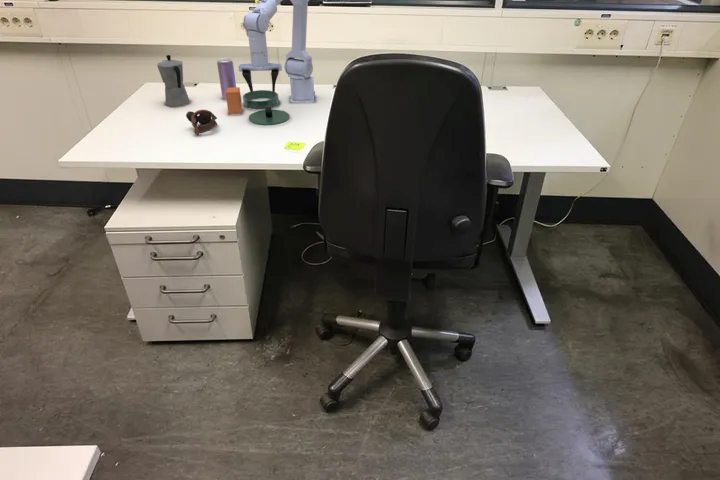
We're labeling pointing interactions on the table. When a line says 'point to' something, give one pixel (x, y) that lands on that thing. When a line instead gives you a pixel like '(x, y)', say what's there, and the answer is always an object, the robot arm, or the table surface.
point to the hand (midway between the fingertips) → (262, 91)
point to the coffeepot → (173, 82)
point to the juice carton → (234, 100)
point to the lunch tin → (260, 94)
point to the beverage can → (226, 74)
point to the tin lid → (269, 116)
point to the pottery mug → (202, 120)
